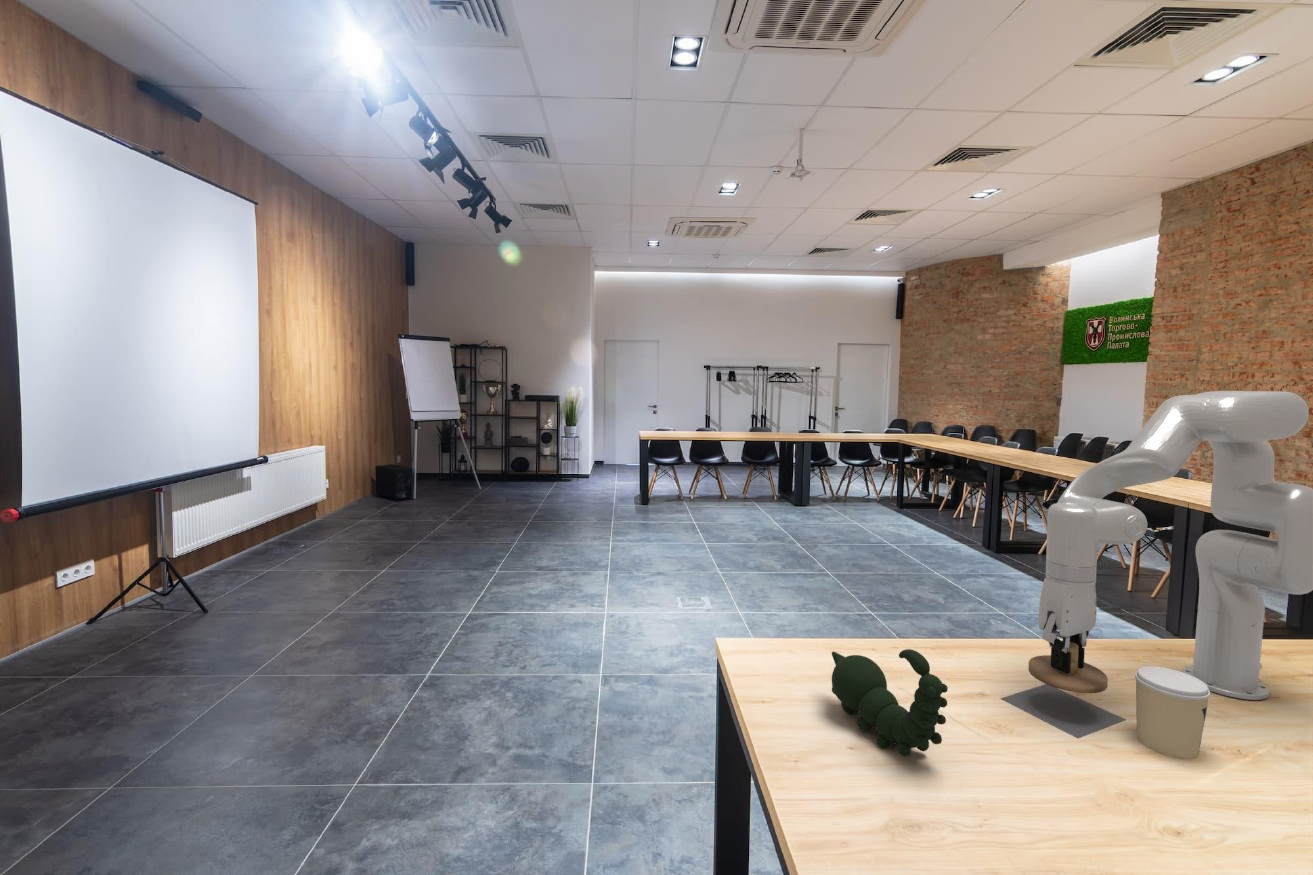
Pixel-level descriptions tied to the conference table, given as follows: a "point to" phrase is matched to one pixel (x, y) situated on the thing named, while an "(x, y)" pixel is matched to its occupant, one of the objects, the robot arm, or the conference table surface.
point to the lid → (1069, 674)
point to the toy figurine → (890, 701)
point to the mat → (1063, 710)
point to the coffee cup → (1170, 711)
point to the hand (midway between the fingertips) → (1067, 666)
